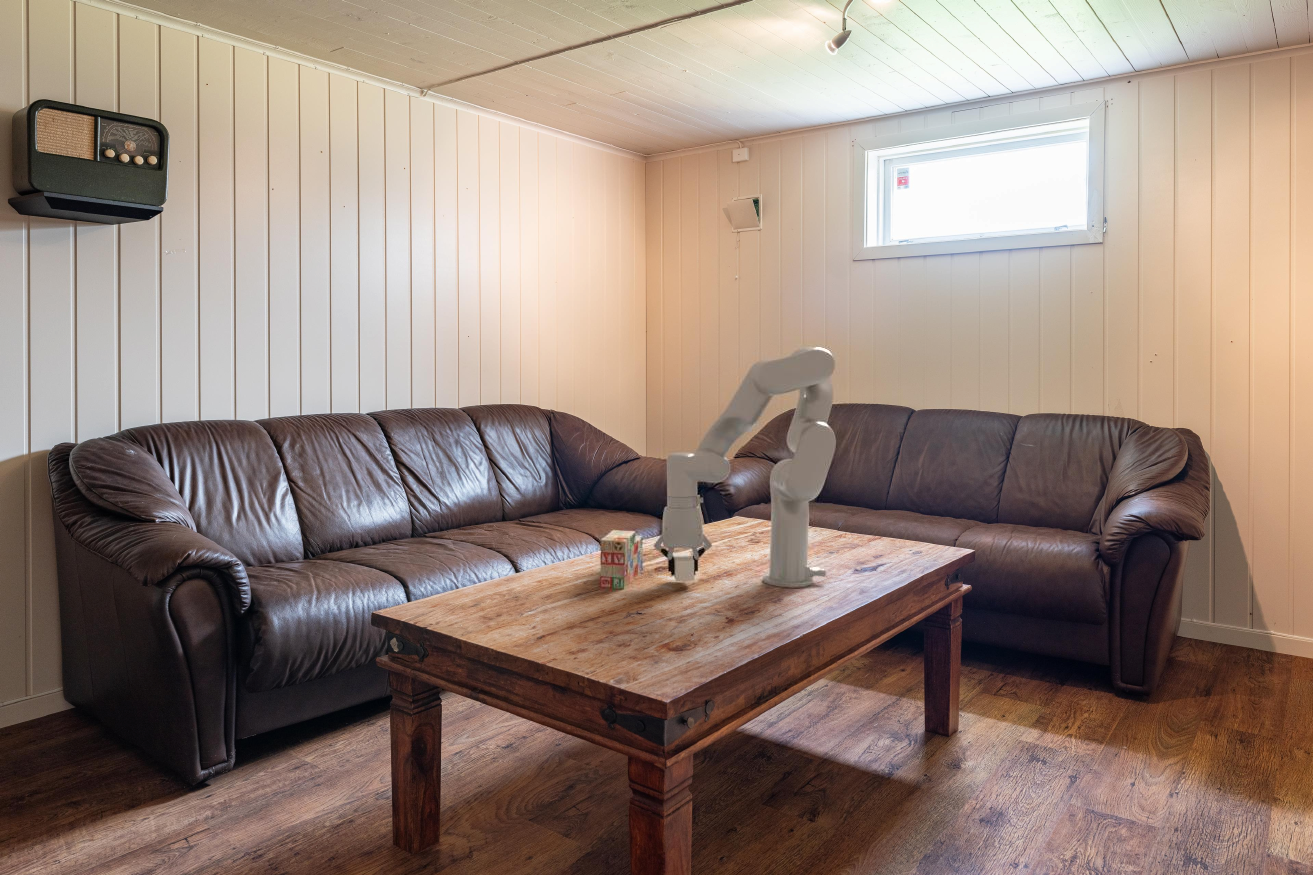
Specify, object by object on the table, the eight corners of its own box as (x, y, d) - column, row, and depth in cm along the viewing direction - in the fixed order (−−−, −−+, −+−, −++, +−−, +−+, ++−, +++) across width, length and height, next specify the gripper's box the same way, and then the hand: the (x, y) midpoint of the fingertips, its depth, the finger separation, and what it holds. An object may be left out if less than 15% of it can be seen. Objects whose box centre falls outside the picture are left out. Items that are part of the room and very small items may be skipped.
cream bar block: (689, 571, 223) (689, 552, 223) (694, 580, 214) (694, 560, 214) (672, 572, 223) (672, 552, 222) (676, 581, 214) (675, 561, 213)
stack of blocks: (620, 568, 235) (621, 523, 234) (642, 569, 234) (643, 524, 233) (599, 588, 214) (600, 538, 213) (624, 589, 213) (625, 540, 212)
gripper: (715, 499, 220) (715, 570, 222) (648, 500, 220) (649, 571, 222) (717, 504, 213) (718, 577, 215) (648, 505, 213) (649, 578, 215)
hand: (683, 573), depth 218 cm, fingers closed on cream bar block, 4 cm apart
